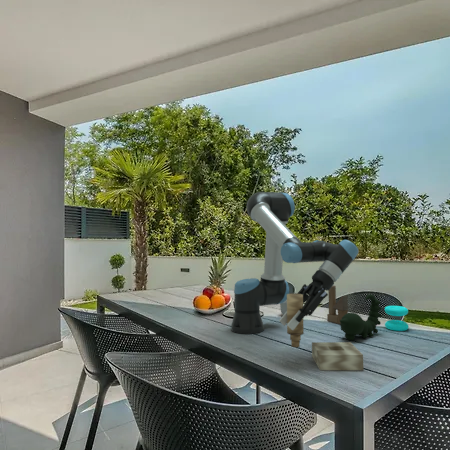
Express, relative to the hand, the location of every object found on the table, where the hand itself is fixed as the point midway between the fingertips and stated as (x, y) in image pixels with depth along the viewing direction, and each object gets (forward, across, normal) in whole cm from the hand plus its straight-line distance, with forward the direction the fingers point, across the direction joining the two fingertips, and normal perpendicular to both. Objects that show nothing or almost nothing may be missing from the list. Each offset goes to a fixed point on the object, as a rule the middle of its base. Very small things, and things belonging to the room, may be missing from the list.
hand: (285, 325), depth 131 cm
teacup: (-16, +66, -36) cm, 77 cm away
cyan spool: (-39, +24, -58) cm, 74 cm away
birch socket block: (-2, -6, -21) cm, 22 cm away
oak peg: (+3, 0, -8) cm, 8 cm away
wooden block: (-26, +43, -45) cm, 67 cm away
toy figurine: (-21, +18, -41) cm, 49 cm away
